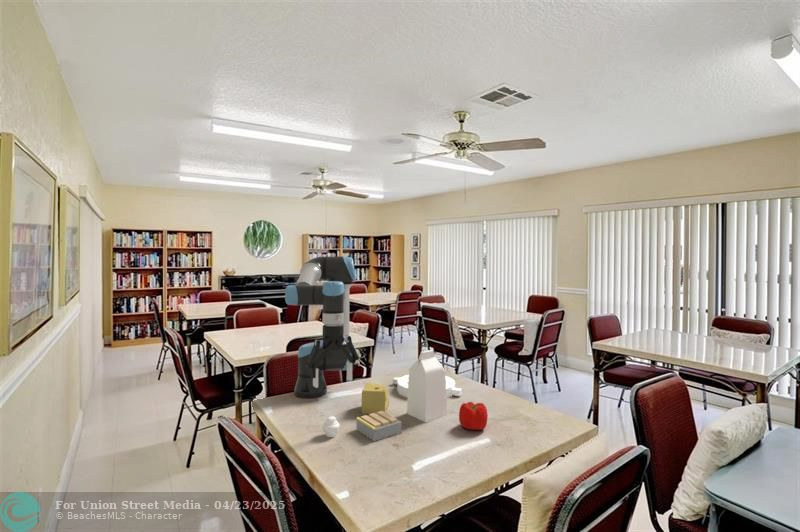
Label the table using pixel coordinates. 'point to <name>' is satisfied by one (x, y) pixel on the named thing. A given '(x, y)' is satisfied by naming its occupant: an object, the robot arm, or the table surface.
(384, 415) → the dock
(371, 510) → the table surface
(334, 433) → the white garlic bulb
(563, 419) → the table surface
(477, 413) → the red bell pepper
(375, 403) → the cheese
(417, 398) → the milk
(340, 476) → the table surface
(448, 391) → the white circle with bar
